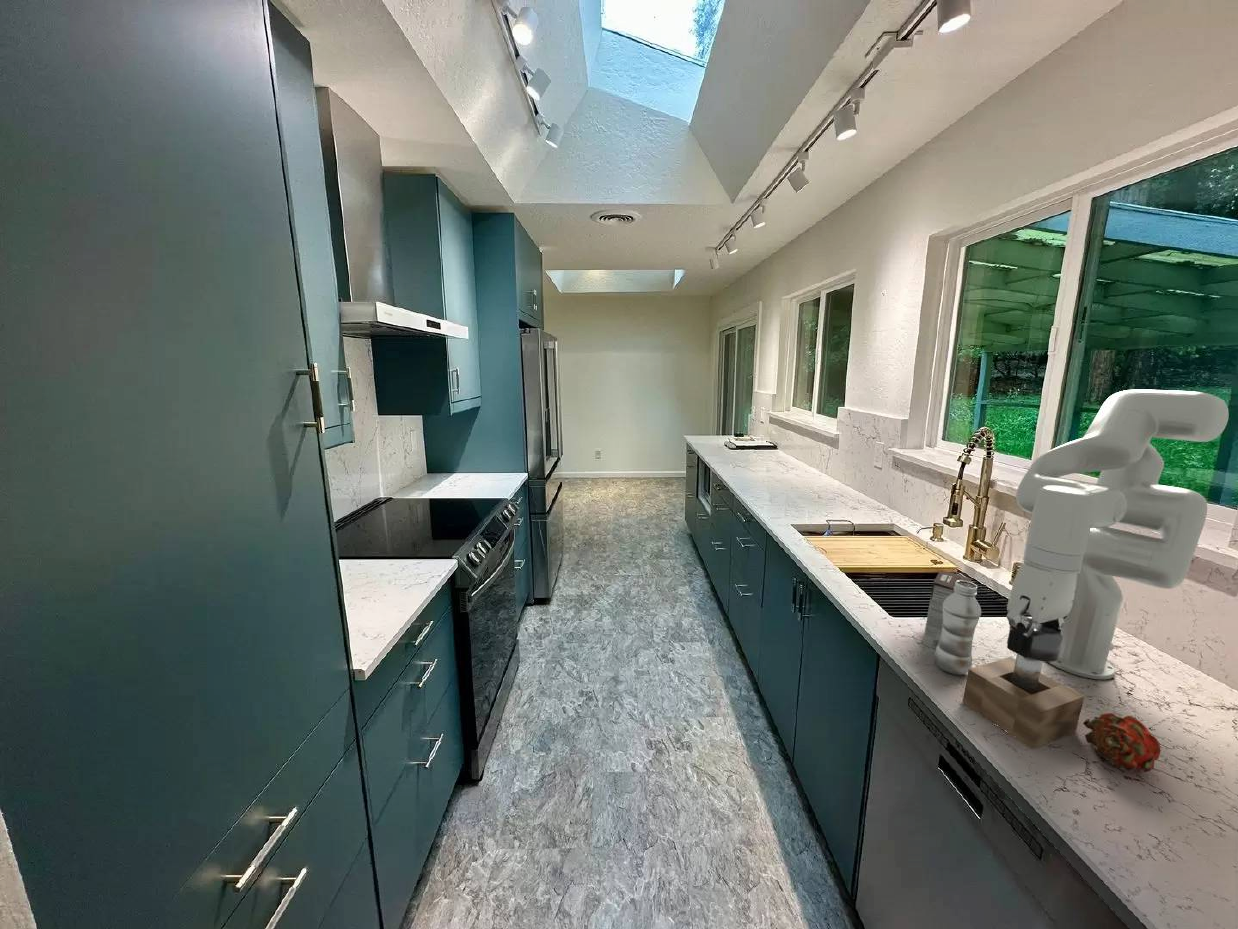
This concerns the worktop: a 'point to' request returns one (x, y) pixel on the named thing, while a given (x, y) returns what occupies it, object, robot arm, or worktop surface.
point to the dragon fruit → (1123, 742)
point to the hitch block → (1023, 703)
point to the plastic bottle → (958, 629)
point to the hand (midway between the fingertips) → (1031, 648)
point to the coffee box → (939, 606)
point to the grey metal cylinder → (1036, 656)
